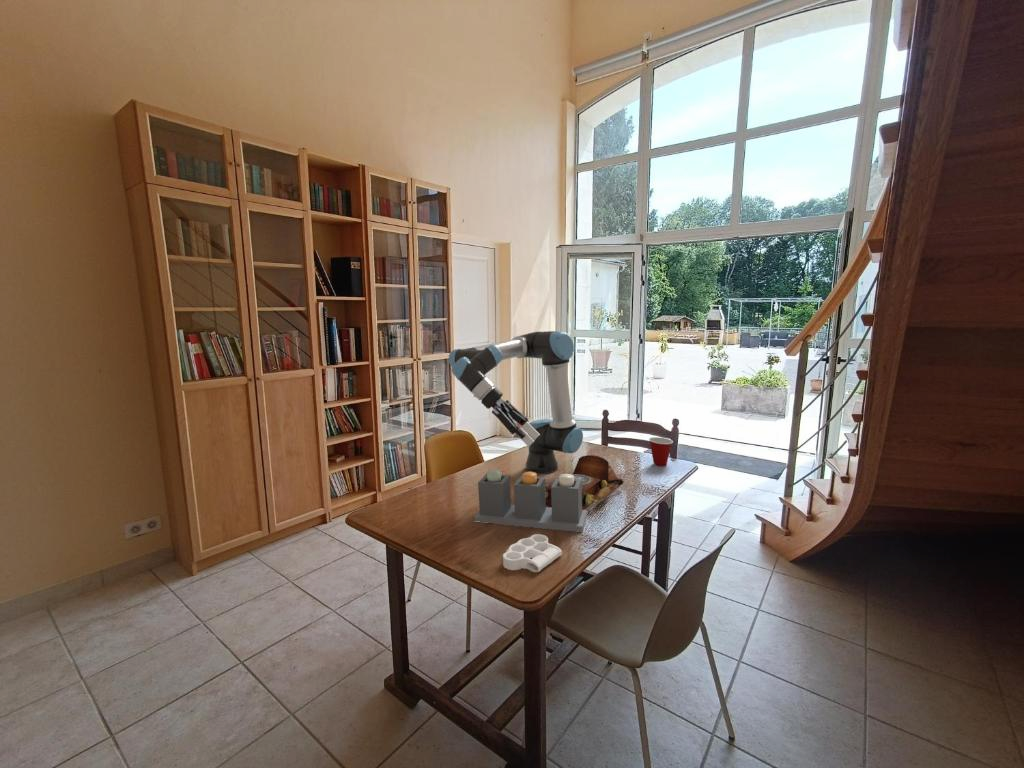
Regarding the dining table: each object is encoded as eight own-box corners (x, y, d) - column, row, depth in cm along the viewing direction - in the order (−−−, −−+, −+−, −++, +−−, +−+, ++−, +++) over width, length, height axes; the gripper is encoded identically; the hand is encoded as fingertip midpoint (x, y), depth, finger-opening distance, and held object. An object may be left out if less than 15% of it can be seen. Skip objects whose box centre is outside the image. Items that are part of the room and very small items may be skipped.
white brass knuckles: (532, 580, 125) (492, 564, 134) (568, 553, 138) (529, 539, 148) (531, 569, 124) (491, 553, 134) (568, 542, 138) (529, 530, 147)
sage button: (485, 484, 162) (485, 474, 162) (490, 480, 167) (489, 469, 166) (499, 485, 161) (498, 474, 160) (503, 480, 165) (502, 470, 165)
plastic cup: (676, 467, 210) (676, 442, 208) (652, 468, 210) (652, 442, 208) (668, 460, 220) (668, 436, 219) (645, 461, 221) (646, 436, 219)
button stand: (474, 522, 161) (472, 484, 159) (486, 507, 173) (484, 471, 171) (582, 532, 150) (581, 491, 149) (587, 515, 163) (586, 477, 161)
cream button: (558, 489, 155) (557, 478, 154) (560, 484, 160) (560, 473, 159) (572, 490, 154) (572, 479, 153) (575, 485, 158) (574, 474, 158)
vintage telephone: (631, 455, 191) (590, 486, 159) (631, 483, 193) (591, 519, 161) (579, 448, 205) (531, 474, 173) (579, 474, 207) (532, 505, 175)
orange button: (521, 487, 159) (520, 476, 158) (524, 482, 163) (524, 471, 163) (535, 488, 157) (534, 476, 157) (538, 483, 162) (537, 472, 161)
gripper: (490, 396, 171) (534, 439, 168) (470, 407, 151) (519, 456, 149) (503, 382, 168) (547, 426, 166) (484, 391, 149) (534, 441, 146)
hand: (534, 440), depth 157 cm, fingers open, 8 cm apart
